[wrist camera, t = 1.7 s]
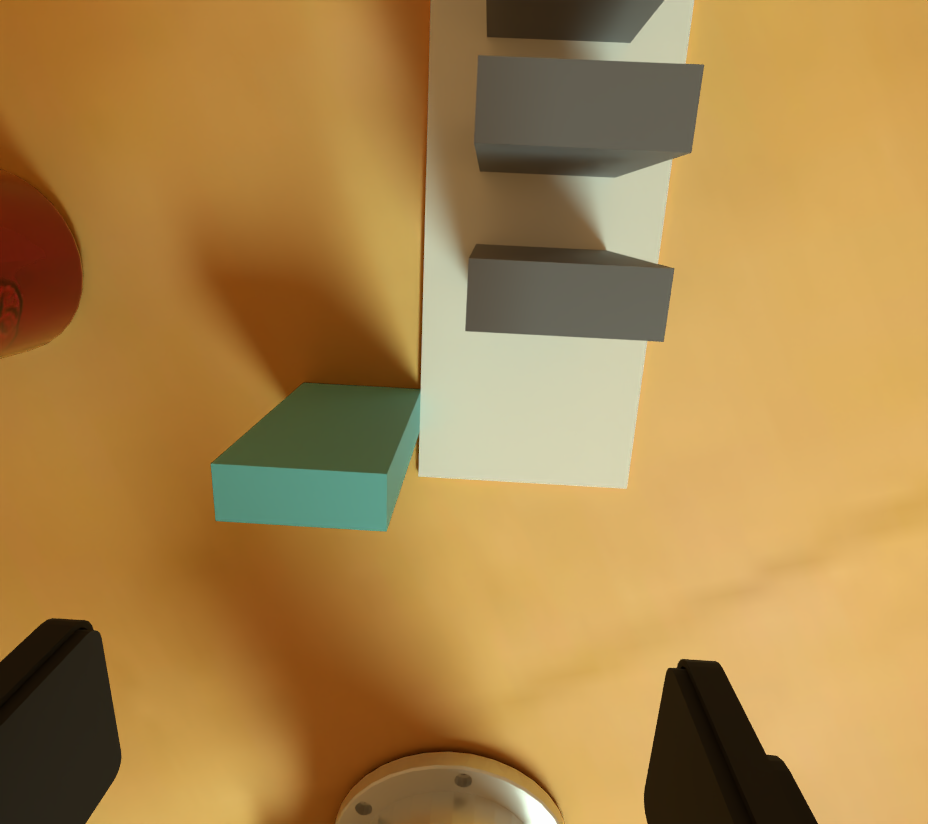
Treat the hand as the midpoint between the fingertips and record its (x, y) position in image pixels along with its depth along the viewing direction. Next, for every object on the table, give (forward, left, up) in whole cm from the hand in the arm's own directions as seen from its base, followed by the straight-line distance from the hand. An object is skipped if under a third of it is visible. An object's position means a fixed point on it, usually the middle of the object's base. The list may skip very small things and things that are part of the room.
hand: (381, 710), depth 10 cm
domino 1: (-3, +1, -17) cm, 17 cm away
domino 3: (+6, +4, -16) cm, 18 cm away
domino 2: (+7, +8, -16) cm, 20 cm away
